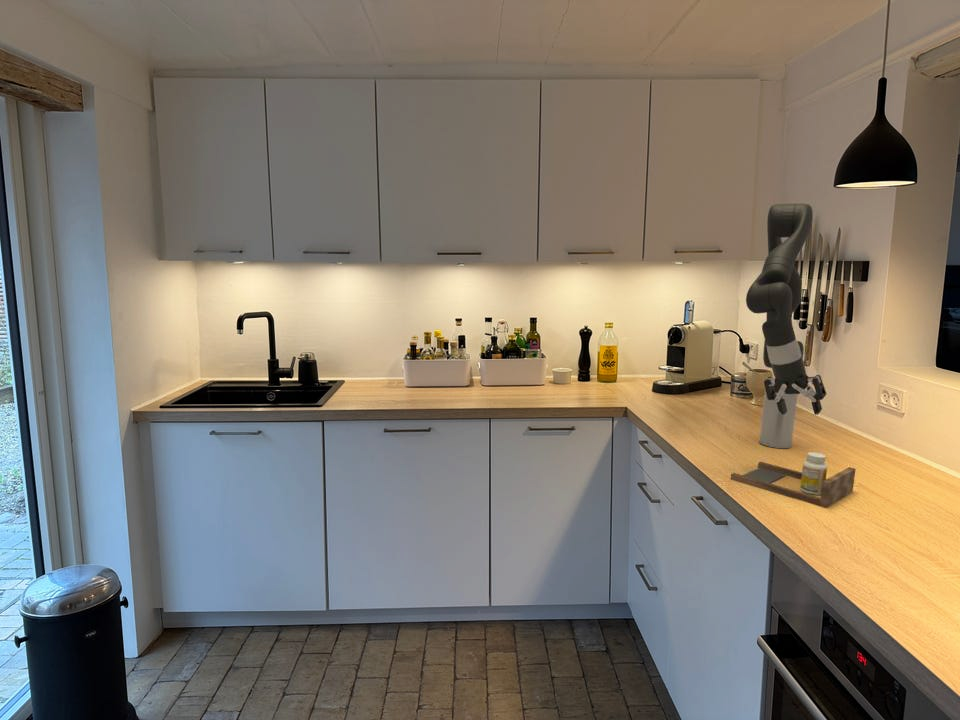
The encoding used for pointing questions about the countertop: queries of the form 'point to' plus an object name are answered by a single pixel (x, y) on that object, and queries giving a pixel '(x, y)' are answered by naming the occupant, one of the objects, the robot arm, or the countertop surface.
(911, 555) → the countertop surface
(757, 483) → the bay
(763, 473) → the front mat
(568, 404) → the countertop surface
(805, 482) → the supplement bottle
